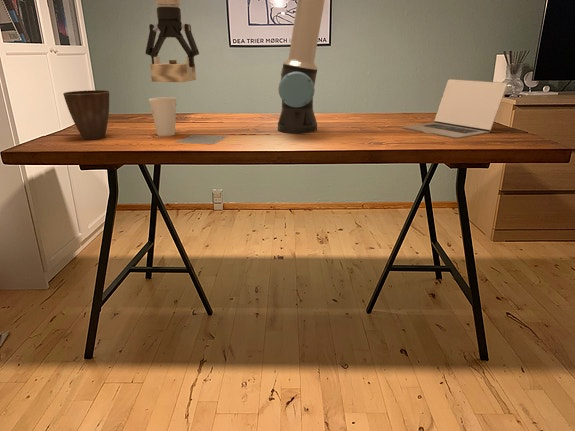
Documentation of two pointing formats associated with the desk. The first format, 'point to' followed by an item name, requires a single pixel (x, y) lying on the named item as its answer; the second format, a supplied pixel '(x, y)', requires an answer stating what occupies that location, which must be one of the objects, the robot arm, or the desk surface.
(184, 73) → the lid
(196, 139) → the mat
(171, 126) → the foam cup
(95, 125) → the plant pot
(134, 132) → the desk surface
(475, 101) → the laptop
